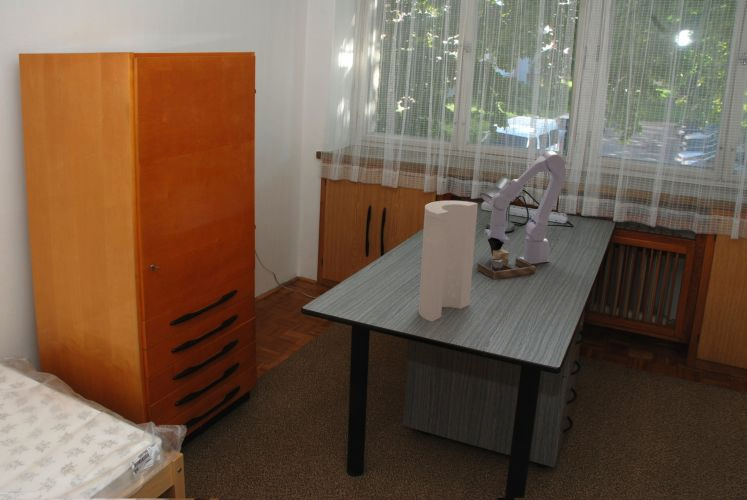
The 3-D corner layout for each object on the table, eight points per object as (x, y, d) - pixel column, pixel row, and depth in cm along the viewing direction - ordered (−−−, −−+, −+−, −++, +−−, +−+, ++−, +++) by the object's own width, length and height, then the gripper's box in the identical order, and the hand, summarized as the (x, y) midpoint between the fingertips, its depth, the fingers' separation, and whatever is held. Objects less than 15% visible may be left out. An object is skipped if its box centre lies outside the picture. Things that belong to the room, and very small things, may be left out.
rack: (516, 264, 290) (517, 258, 290) (534, 273, 281) (535, 266, 280) (476, 269, 282) (477, 263, 282) (494, 278, 273) (494, 272, 272)
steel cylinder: (497, 270, 282) (499, 258, 281) (504, 274, 278) (505, 261, 277) (488, 271, 280) (489, 259, 279) (495, 275, 277) (496, 262, 275)
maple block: (501, 260, 295) (502, 249, 293) (508, 263, 291) (509, 252, 290) (492, 261, 293) (493, 250, 291) (498, 264, 289) (499, 253, 288)
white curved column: (471, 305, 246) (433, 322, 231) (444, 296, 253) (405, 312, 238) (480, 203, 235) (440, 214, 220) (451, 197, 243) (411, 207, 227)
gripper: (479, 219, 295) (476, 252, 299) (500, 229, 283) (497, 262, 287) (493, 218, 298) (490, 250, 302) (515, 227, 286) (512, 260, 290)
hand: (494, 256), depth 295 cm, fingers closed
